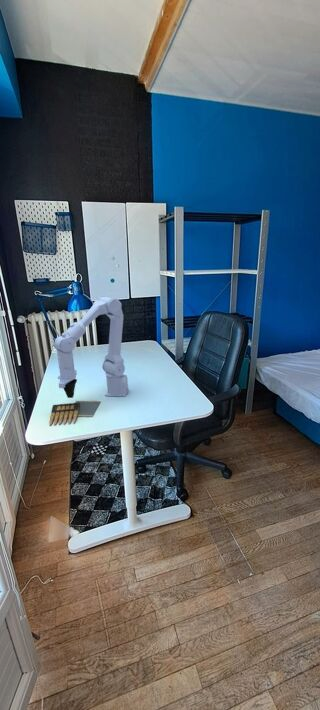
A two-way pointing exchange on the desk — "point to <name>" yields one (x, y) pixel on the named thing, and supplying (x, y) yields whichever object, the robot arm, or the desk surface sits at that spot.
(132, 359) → the desk surface
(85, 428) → the desk surface
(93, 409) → the mat
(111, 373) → the robot arm
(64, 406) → the ammunition clip
